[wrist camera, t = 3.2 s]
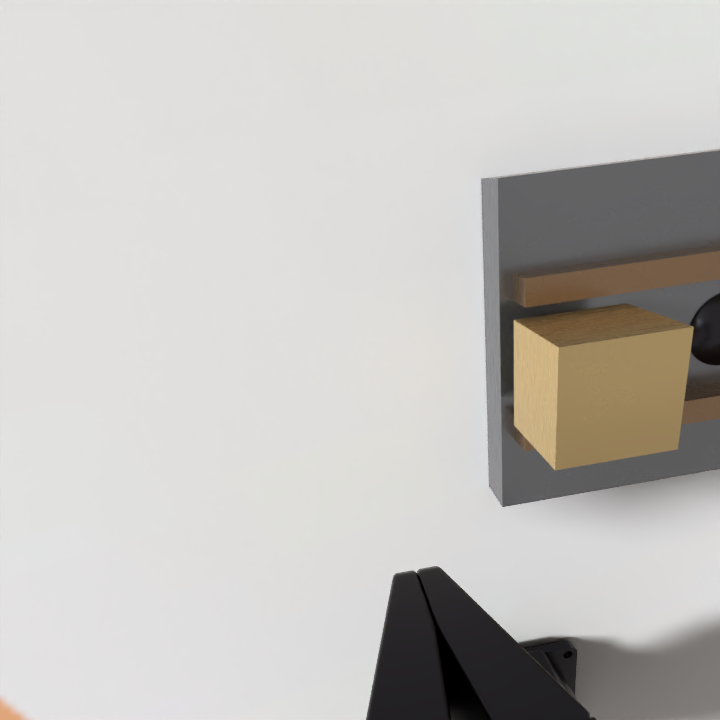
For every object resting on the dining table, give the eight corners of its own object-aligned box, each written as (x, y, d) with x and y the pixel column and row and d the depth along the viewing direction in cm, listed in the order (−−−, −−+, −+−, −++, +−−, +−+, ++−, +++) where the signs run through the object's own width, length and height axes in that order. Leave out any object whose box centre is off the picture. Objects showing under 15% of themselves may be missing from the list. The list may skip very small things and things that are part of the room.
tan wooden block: (605, 399, 19) (677, 449, 15) (505, 415, 18) (555, 470, 15) (612, 298, 17) (693, 326, 14) (504, 314, 17) (558, 347, 13)
